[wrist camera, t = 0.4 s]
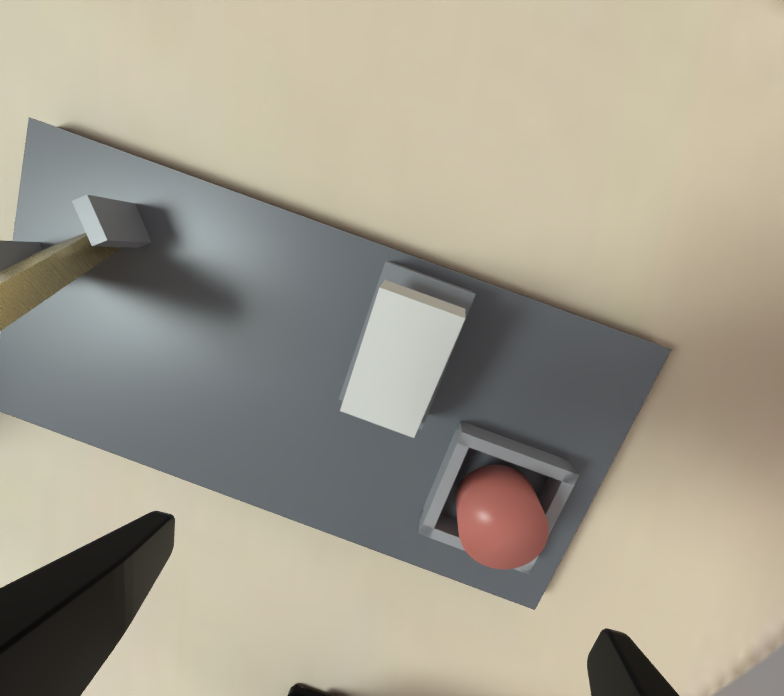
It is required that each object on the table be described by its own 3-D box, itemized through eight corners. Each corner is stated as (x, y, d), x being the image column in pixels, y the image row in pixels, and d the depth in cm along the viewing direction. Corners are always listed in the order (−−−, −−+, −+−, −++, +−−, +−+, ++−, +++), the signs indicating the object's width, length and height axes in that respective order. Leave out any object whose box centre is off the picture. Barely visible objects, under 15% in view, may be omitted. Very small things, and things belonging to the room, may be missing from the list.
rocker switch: (416, 423, 20) (414, 438, 19) (346, 397, 20) (339, 410, 19) (465, 308, 17) (465, 318, 16) (384, 279, 17) (379, 287, 16)
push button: (516, 546, 22) (527, 581, 20) (443, 519, 22) (445, 551, 20) (548, 481, 21) (563, 509, 19) (472, 453, 21) (478, 477, 19)
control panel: (528, 589, 25) (549, 659, 21) (15, 399, 26) (-70, 428, 21) (655, 343, 22) (712, 364, 17) (55, 126, 22) (-38, 94, 18)
